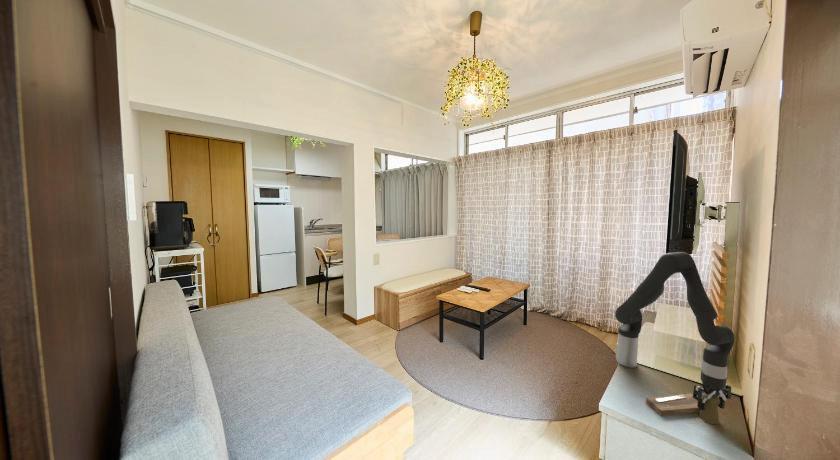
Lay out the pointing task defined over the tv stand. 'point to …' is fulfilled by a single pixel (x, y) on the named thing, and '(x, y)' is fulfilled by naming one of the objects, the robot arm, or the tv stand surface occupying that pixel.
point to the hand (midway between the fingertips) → (710, 408)
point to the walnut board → (674, 405)
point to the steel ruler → (670, 398)
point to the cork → (710, 410)
